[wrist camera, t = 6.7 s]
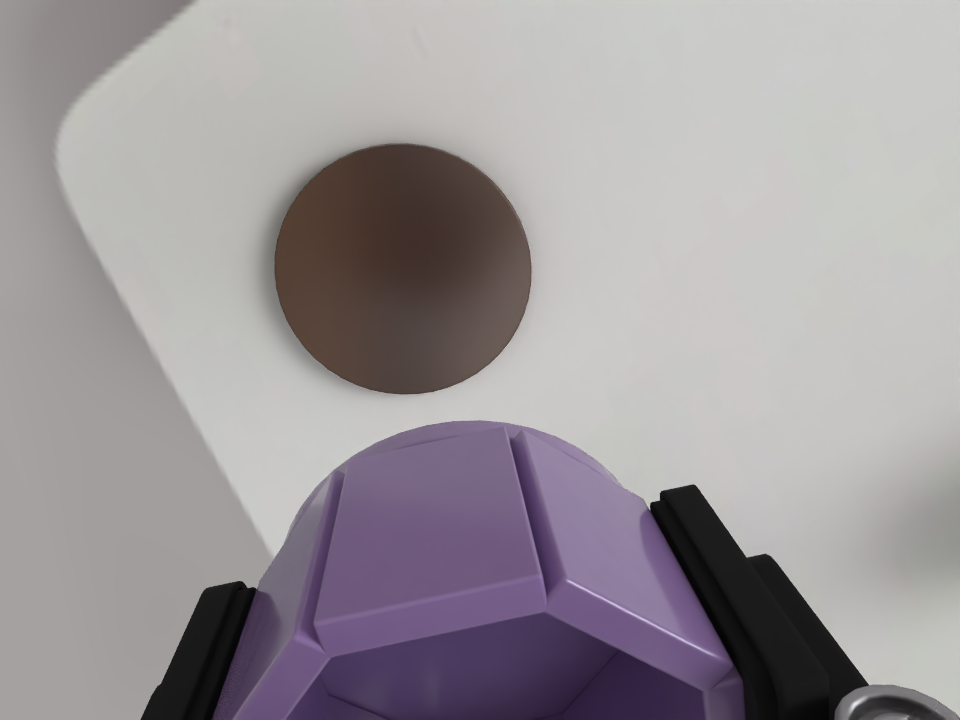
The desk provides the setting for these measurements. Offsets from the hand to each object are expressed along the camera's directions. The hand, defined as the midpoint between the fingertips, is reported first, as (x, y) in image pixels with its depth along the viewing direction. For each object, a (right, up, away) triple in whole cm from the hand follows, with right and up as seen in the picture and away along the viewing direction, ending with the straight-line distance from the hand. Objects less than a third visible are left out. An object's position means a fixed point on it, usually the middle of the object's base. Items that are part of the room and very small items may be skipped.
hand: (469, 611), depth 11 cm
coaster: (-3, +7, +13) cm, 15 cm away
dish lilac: (0, 0, +1) cm, 1 cm away
